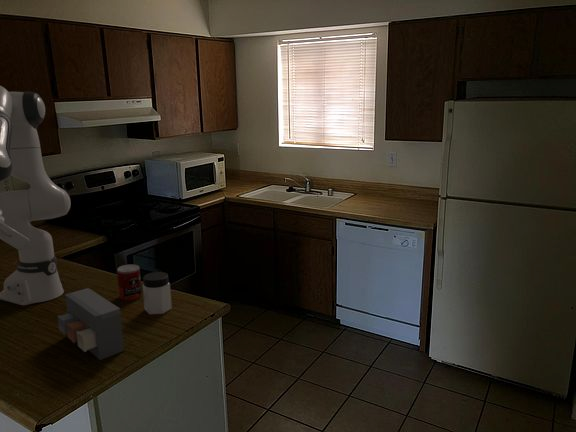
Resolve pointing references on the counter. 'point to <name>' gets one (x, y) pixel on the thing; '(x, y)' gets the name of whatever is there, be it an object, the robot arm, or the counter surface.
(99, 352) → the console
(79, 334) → the ivory key
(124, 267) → the canned food
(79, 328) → the brick key
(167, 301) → the jar
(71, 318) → the blue-grey key
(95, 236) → the counter surface
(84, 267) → the counter surface
